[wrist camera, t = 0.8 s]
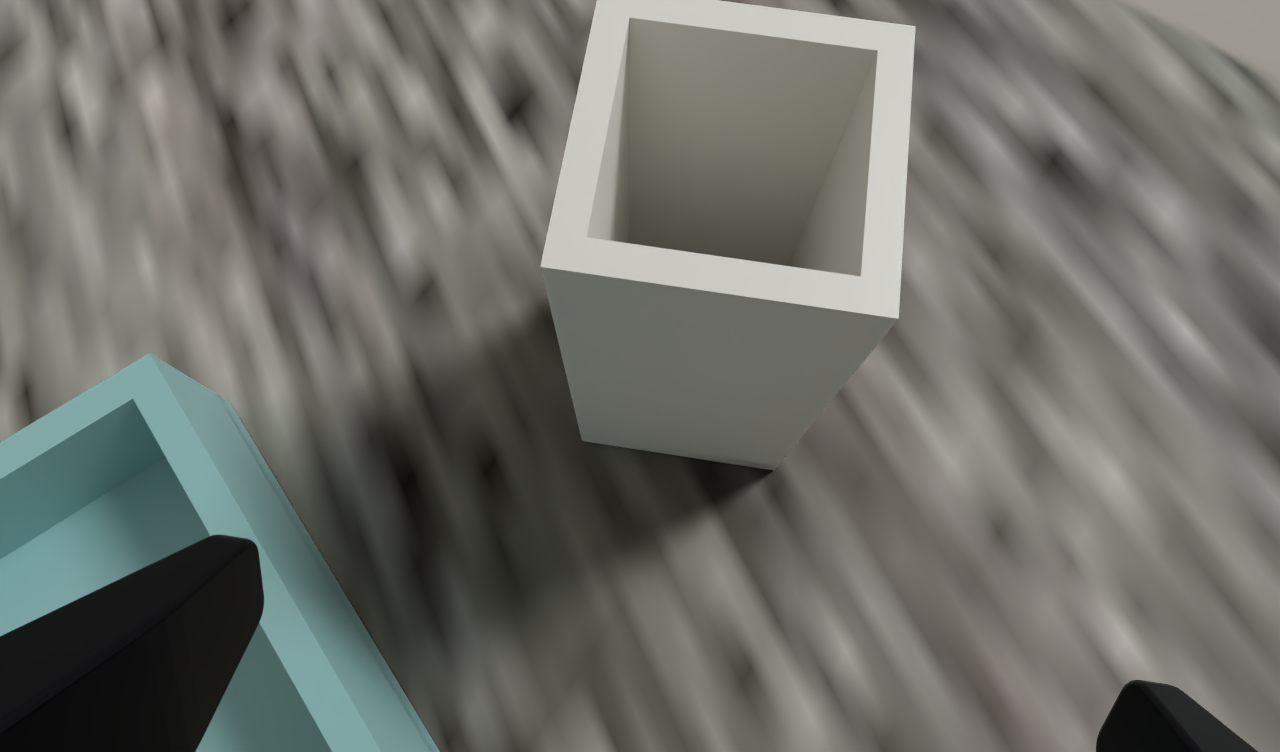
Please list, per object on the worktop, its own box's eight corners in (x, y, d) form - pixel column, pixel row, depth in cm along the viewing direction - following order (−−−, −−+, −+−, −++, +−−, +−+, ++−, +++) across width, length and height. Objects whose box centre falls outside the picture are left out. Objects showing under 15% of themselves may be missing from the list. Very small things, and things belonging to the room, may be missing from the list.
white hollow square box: (792, 293, 24) (915, 26, 14) (774, 470, 23) (898, 318, 12) (612, 267, 24) (600, -15, 14) (581, 441, 23) (539, 267, 12)
